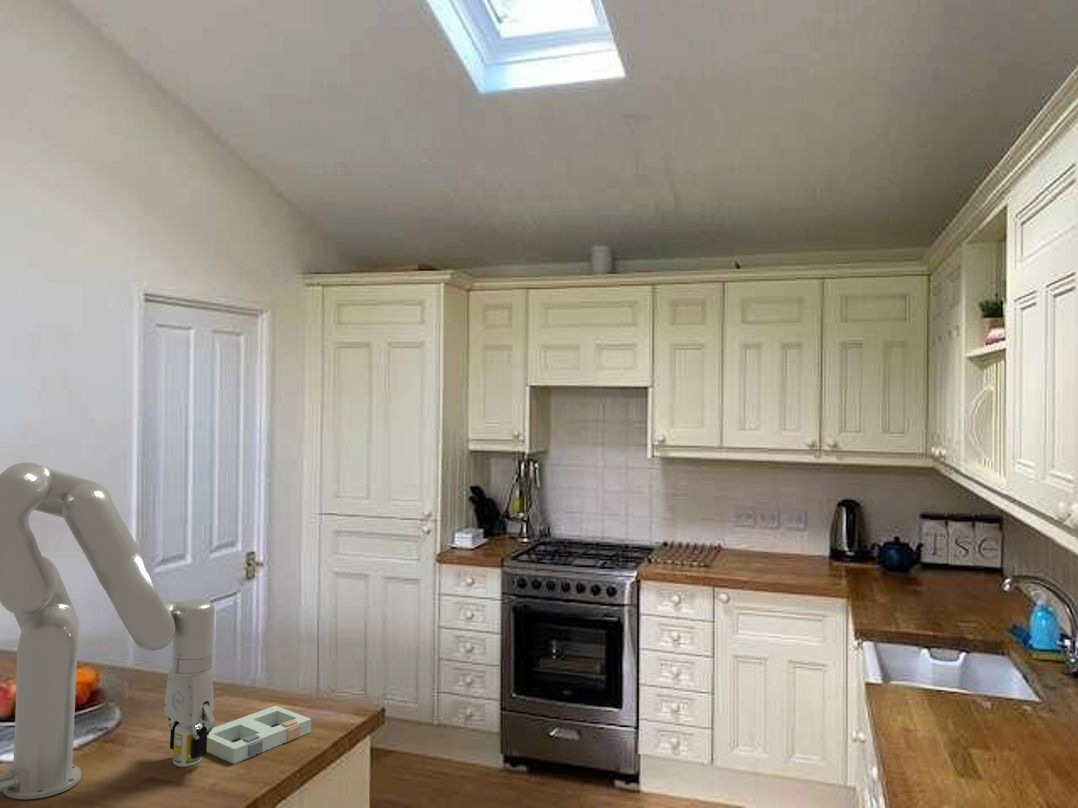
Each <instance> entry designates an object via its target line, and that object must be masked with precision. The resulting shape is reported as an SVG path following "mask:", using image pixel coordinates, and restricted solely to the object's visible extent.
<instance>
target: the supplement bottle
mask: <svg viewBox="0 0 1078 808" xmlns="http://www.w3.org/2000/svg"><path fill="white" fill-rule="evenodd" d="M201 720H202V719H201V718H200V720H199V721H201ZM201 728H202V724H199V725H198V730H200V729H201ZM193 738H194V736H193V731H192V726H187V725H184V724H182V723H180V722H179V724H178V725H177V726H176V727H175V733H174V749H173V752H172V754H173V755H172V763H173V765H174V766H176V767H190V766H194V765H196V764H199V763H200V762H201V761H202V759H203V758H202V757H203V756H200V757H198V758H195V759H192V758H191V739H193Z"/></svg>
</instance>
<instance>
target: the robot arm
mask: <svg viewBox="0 0 1078 808" xmlns="http://www.w3.org/2000/svg"><path fill="white" fill-rule="evenodd" d="M33 511H38V512H41V513H44V514H48V515H51V516H55V517H58V518H63V519H64V522H65V523H66V525H67V527H68V528H69V530H70V532H71V534H72V535H73V537H74V538H75V540H76V542H77V543H78V545H79V547H80V548H81V550H82V553H83V554H84V556H85V557H86V559H87V561H88V563H89V565H90V566H91V568H92V571H93V572H94V573H95V575H96V577H97V580H98V582H99V583H100V586H101V587H102V589H103V590H104V591H105V593H106V595H107V596H108V598H109V601H110V602H111V603H112V605H113V608H114V609H115V611H116V613H117V615H118V616H119V619H120V620H121V621H122V624H123V626H124V627H125V629H126V631H127V632H128V634H129V636H130V637H131V639H132V641H133V642H134V644H135V645H136V646H137V647H138V648H140V649H142V650H144V651H149V652H155V651H159V650H162V649H164V648H166V647H167V646H168V645H169V644H170V643H171V642H172V648H171V649H172V652H171V653H172V654H171V667H170V669H169V672H168V676H167V681H166V686H165V695H164V708H163V712H164V715H165V716H166V717H167V718H168V721H169V723H168V728H169V729H170V737H169V749H170V750H174V733H175V727H176V726H177V725H178V724H179V722H180V723H182V724H184V725H187V726H192V731H193V736H194V738H193V739H191V758H192V759H195V758H198V757H200V756H202V757H203V756H205V755H207V752H206V751H207V736H208V735H209V732H210V731H211V730H212V728H214V727H216V726H217V721H216V718H215V716H214V714H213V712H214V681H213V672H212V669H213V668H212V667H213V651H214V649H213V648H214V630H215V629H214V627H215V606H214V604H213V603H212V602H211V601H209V600H207V599H188V600H184V601H172V600H171V601H169V600H162V598H161V596H160V595H159V593H158V591H157V589H156V587H155V585H154V583H153V581H152V579H151V577H150V574H149V572H148V569H147V566H146V562H145V559H144V557H143V555H142V552H141V549H140V548H139V546H138V544H137V543H136V541H135V539H134V538H133V536H132V534H131V532H130V531H129V529H128V527H127V526H126V523H125V522H124V519H123V518H122V516H121V514H120V512H119V511H118V509H117V507H116V506H115V504H114V501H113V500H112V496H111V494H110V492H109V490H108V489H107V488H106V487H105V486H104V485H102V484H100V483H98V482H96V481H92V480H88V479H86V478H82V477H79V476H76V475H72V474H70V473H67V472H63V471H59V470H57V469H53V468H50V467H47V466H44V465H41V464H37V463H32V462H20V463H19V462H17V463H15V464H13V465H11V466H9V467H8V468H6V469H5V470H3V471H2V473H1V474H0V604H1V606H2V607H3V608H5V609H6V611H8V612H10V613H12V614H13V615H14V617H15V620H16V622H17V624H18V626H19V628H20V631H21V632H20V635H19V638H18V642H17V643H18V644H17V650H16V691H15V692H16V693H15V694H16V695H15V718H14V719H15V720H14V740H13V744H14V745H13V762H12V763H9V764H7V765H6V770H5V771H2V772H1V774H0V791H2V794H3V795H4V796H5V797H7V798H11V799H15V800H36V799H42V798H48V797H51V796H55V795H59V794H61V793H64V792H65V791H67V790H69V789H71V788H73V787H75V785H77V784H78V783H79V782H80V781H81V777H82V770H81V768H80V767H79V766H77V765H75V764H73V759H74V758H73V756H74V755H73V754H74V737H75V736H74V734H75V732H74V731H75V717H76V716H75V715H76V713H75V712H76V711H75V709H76V687H77V686H76V685H77V668H78V667H77V666H78V665H77V664H78V653H79V634H80V630H79V628H80V626H79V618H78V616H77V615H78V614H77V613H76V610H75V608H74V606H73V603H72V601H71V598H70V597H69V596H70V595H69V594H68V591H67V589H66V587H65V586H66V585H65V584H64V582H63V579H62V577H61V575H60V572H59V570H58V568H57V566H56V565H55V563H54V562H53V561H52V560H51V559H49V558H48V557H46V556H44V555H42V553H41V550H40V548H39V546H38V543H37V540H36V537H35V534H34V533H33V530H32V529H31V527H30V523H29V519H30V518H29V517H30V515H31V514H32V512H33ZM200 718H201V719H200ZM199 720H200V721H199ZM199 724H202V728H201V729H200V730H198V725H199Z"/></svg>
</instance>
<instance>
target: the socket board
mask: <svg viewBox="0 0 1078 808" xmlns="http://www.w3.org/2000/svg"><path fill="white" fill-rule="evenodd" d="M278 724H279V725H278ZM272 726H273V727H272ZM310 733H312V718H309V717H307V716H304V715H302V714H299V713H298V712H294V711H291V710H288V709H286V708H284V707H280V706H278V705H273V706H270V707H267V708H265V709H262V710H260V711H257V712H254V713H251V714H248V715H245V716H243V717H240V718H237V719H234V720H231V721H229V722H226V723H223V724H221V725H216V726H214V727H213V728H212V730H211V731H210V732H209V735H208V736H207V751H206V753H209V754H211V755H213V756H215V757H218V758H219V759H222V760H224V761H226V762H229V763H231V764H236V763H240V762H242V761H244V760H247V759H249V758H252V757H254V756H257V755H259V754H261V752H262V753H265V752H267V751H268V750H272V749H274V748H276V747H278V745H279V746H280V745H284V744H286V743H288V742H291V741H293V740H296V739H298V738H300V737H303V736H306V735H308V734H310ZM238 739H239V740H238ZM235 740H237V741H235ZM233 741H234V742H233ZM283 743H284V744H283ZM273 747H274V748H273ZM266 750H267V751H266ZM256 754H257V755H256Z"/></svg>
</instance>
